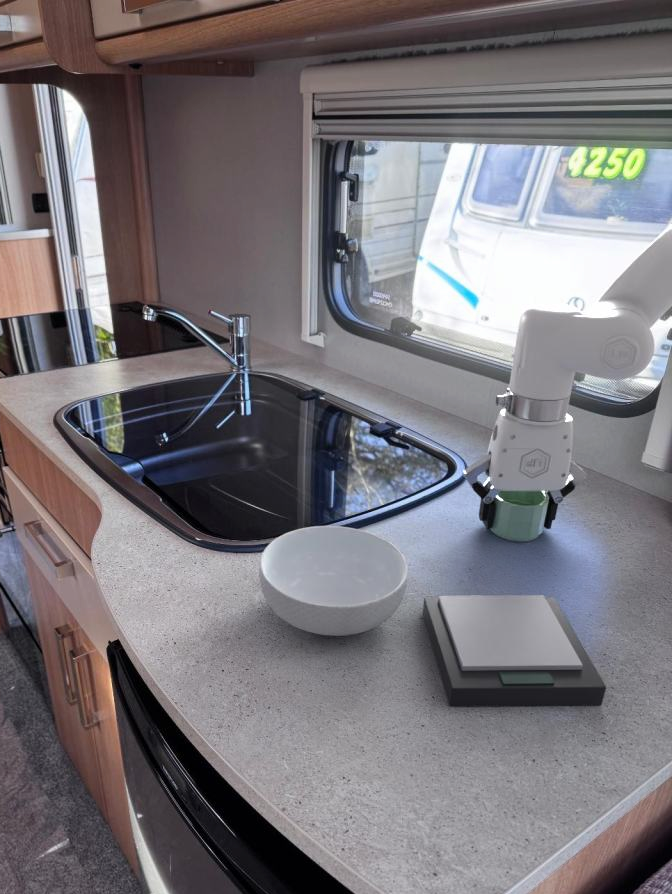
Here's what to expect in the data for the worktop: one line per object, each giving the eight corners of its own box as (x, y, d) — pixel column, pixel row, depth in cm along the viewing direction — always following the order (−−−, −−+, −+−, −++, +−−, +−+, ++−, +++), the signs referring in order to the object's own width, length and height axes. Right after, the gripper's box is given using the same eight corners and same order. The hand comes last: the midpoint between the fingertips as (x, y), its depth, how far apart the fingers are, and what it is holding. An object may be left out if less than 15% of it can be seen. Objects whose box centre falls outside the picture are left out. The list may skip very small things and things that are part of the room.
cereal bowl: (394, 671, 75) (400, 616, 72) (241, 646, 79) (239, 593, 75) (410, 582, 90) (415, 532, 86) (280, 564, 93) (280, 516, 90)
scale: (550, 613, 84) (555, 592, 83) (601, 705, 71) (608, 682, 70) (422, 614, 84) (424, 593, 82) (449, 707, 71) (453, 683, 69)
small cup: (532, 516, 105) (538, 482, 102) (549, 542, 98) (556, 507, 95) (481, 516, 104) (486, 482, 102) (495, 543, 98) (501, 507, 95)
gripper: (476, 415, 89) (459, 538, 97) (616, 415, 89) (587, 537, 98) (462, 394, 96) (447, 511, 104) (593, 394, 96) (567, 511, 104)
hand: (515, 523), depth 101 cm, fingers closed on small cup, 7 cm apart
